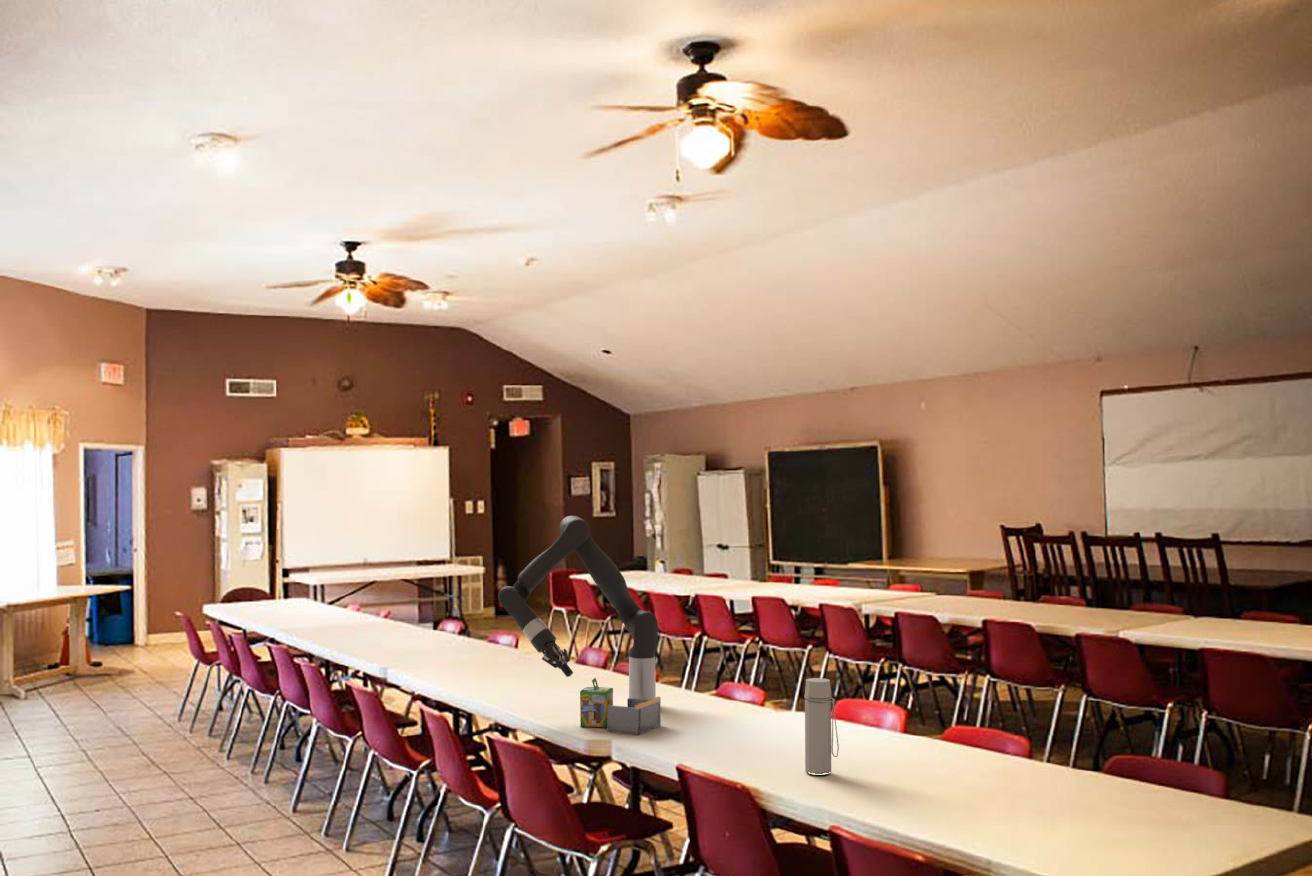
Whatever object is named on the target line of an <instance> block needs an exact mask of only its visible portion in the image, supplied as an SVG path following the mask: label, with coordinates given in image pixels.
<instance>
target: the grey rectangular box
mask: <svg viewBox="0 0 1312 876" xmlns="http://www.w3.org/2000/svg"><path fill="white" fill-rule="evenodd" d="M626 700H627V706H621V705H614V704H613V705H609V706H607V728H606V729H607V731H610V733H616V732H620V733H619V734H625V733H629V734H628V735H634V734H636V735H635V736H639V735H638V734H640V735H642V734H644V733H646V731H647V732H649V731H651V730H653V728H654V729H656V728H658V727H660V726H661V705H662V704H661V701H662V700H661V696H656V697H655V698H653V699H650V700H645V699H635V698H629V697H628V698H627V699H626ZM657 726H658V727H657ZM655 727H656V728H655ZM650 729H651V730H650ZM648 730H649V731H648ZM643 732H644V733H643ZM641 733H642V734H641Z"/></svg>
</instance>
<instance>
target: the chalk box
mask: <svg viewBox="0 0 1312 876" xmlns="http://www.w3.org/2000/svg"><path fill="white" fill-rule="evenodd" d="M591 682H592V683H591V684H592V686H593V687H592V686H586V687H584V688H583V689H581V690H580V691H579V699H580V701H579V703H580V706H579V708H580V711H579V712H580V715H579V716H580V719H579V720H580V723H579V724H580V726H585V727H584V728H606V727H607V706H609V705H613V706H614V688H613V687H602V686H599V684H598V682H597V678H596V677H594V678H593V679H592V680H591Z"/></svg>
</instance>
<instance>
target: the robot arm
mask: <svg viewBox="0 0 1312 876" xmlns="http://www.w3.org/2000/svg"><path fill="white" fill-rule="evenodd" d="M559 533H560V536H558V538H557V539H556V540H555V541H554V543H553V544H552V545H551V546H550V547H548V548H547V549H545V550H544V551H543V552H542V553H541V554H539V555H538V556H536V557H535V558H534V559H532V560H531V561H530V563H528V564H527V566H526V567H524V569H523V570H522V571H520V573H519V574H518V576H517V581H516V582H515V583H514V585H513V586H509V585H508V586H507V585H505V586H503V587H501V589H500V590H499V592H498V594H497V599H498V602H499V603H500V605H501V607H503V608H504V609H505V611H506V612H507V613H508V614H509V615H510V616H511V617H512V618H513V619H514V621H515V623H516V624H517V626H518V627H519V628H520V629H521V631H522V632H523V634H524V635H525V636H524V637H526V639H527V641H529V642H530V644H531V645H532V647H534V649H535V651H537V653H542V654H543V656H542V657H541V659H542V661H544V662H546V663H547V664H548V665H550V666H551V667H553V668H555V669H557V668H558V669H559V670H561V672H562V673H563V674H564V676H565V677H566V678H569V677H571V676H572V675H573V674H574V671H573V670H572V669H571V667H570V666H569V665H568V663H569V662H570V658H569V654H568V650H567V649H566V648H564V649H561V647H560V646H559V645H558V644H557V643H556V641H557V637H556V635H555V634H554V633H553V632H552V631H551V630H550V628H549V627H548V625H546V623H545V622H544V621H543V620H542V619H541V618H540V616H539V615H538V614H537V612H535V611H534V609H533V608H531V606H529V605H528V603H527V602H526V601H527V600H528V597H530V595H531V593H532V592H533V590H534V589H535V588H536V587H537V586H538V585H539V584H540V583H541V582H542V581H543V580H544V578H545V577H546V576H547V575H548V574H549V573H550V572H552V570H553V569H554V568H555V567H556V566H557V565H559V563H561V562H562V560H564V559H565V558H566V557H568V555H570V554H571V553H573V552H575V553H576V554H577V555H578V557H579V559H580V560H581V562H582V563H583V566H584V567H585V569H586V571H587V572H588V575H590V577H591V579H592V580H593V582H594V583H595V585H596V586H597V587H598V589H599V590H600V591H601V593H602V594H603V596H604V597H605V598H606V600H607V601H608V602H609V603H610V605H611V606H612V607H613V608H614V610H615V611H616V612H617V614H618V616H619V617H620V620H621V622H622V623H623V626H624V627H625V628H626V630H627V632H628V633H629V634H630V635H632V636H633V644H632V647H630V648H629V650H628V698H635V699H645V700H650V699H653V698H655V697H657V695H656V693H657V692H656V689H657V687H656V684H657V683H656V651H657V649H658V641H659V640H658V638H659V622H658V619H657V617H656V615H655V614H654V613H653V612H650V611H646V610H642V608H640V606H639V605H638V604H637V603H636V602H635V600H634V599H633V597H632V595H631V594H630V592H629V588H628V585H627V582H626V579H625V577H624V576H623V574H622V572H621V571H620V569H619V568H618V566H617V565H616V564H615V562H613V560H612V559H611V558H610V557H609V556H608V555H607V554H606V553H605V552H604V551H603V550H602V549H601V548H600V547H599V546H598V544H597V543H596V542H595V541H594V539H593V537H592V535H591V528H590V525H589V524H588V522H587V521H585V519H583V518H582V517H579V516H577V515H568V516H565V517H564V518H563V519H561V522H560V523H559Z"/></svg>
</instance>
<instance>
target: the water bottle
mask: <svg viewBox="0 0 1312 876" xmlns="http://www.w3.org/2000/svg"><path fill="white" fill-rule="evenodd" d="M831 688H832V687H831V680H830V679H828V678H824V677H823V678H822V677H813V678H812V677H811V678H807V679H805V689H804V691H805V692H804V747H805V748H804V754H805V755H804V772H806V771H807V772H810V773H815V774H823V773H829V772H831V773H832V757H834V758H838V756H839V750H840V749H839V748H840V747H839V745H840V744H839V738H838V730H837V728H838V727H837V721H836V712H835V701H836V699H835V698H833V697H832V689H831ZM832 711H833V714H832ZM834 726H835V727H834ZM834 728H835V736H836V744H837V751H836V755H835V754H834Z"/></svg>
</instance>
